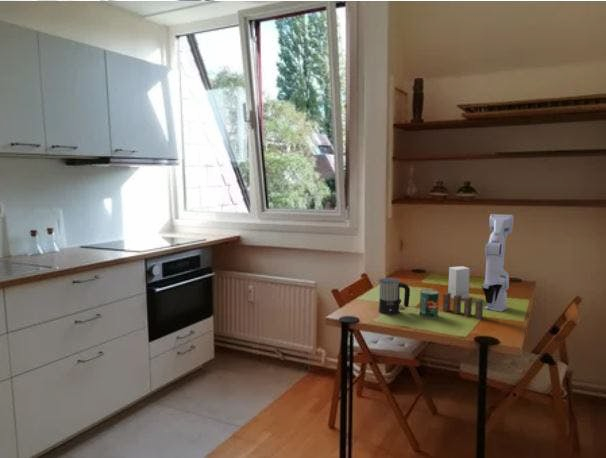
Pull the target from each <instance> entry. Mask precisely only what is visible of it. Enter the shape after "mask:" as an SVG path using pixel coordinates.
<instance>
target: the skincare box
mask: <svg viewBox="0 0 606 458" xmlns="http://www.w3.org/2000/svg"><path fill="white" fill-rule="evenodd" d="M470 272H471V268H469V267H467V266H462V265H461V266H451V267H450V266H448V287H447V289H448V290H447V292H448V293H451V299H453V300H454V296H455V295H461V300H463V299H464V300H465V298H466V297H470V295H469V294H470V293H469V291H470V289H469V288H470V274H471V273H470Z"/></svg>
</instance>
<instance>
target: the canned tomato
mask: <svg viewBox="0 0 606 458" xmlns="http://www.w3.org/2000/svg"><path fill="white" fill-rule="evenodd" d="M439 294H440V291H438V290H435V289H427V288H426V289H421V290H420V291H419V313H418V314H419V317H421V318H425V319H436V318H439V317H438V316H439V315H438V314H439Z"/></svg>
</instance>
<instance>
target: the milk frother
mask: <svg viewBox="0 0 606 458" xmlns="http://www.w3.org/2000/svg"><path fill="white" fill-rule="evenodd" d="M378 282H379V303H378V304H379V306H378V313H380V314H383V315H396V314H399V312H400V304H401V303H402V299H401V298H400V294H401V292H400V289H402V288H403V289H404V296H403V297H404V298H403V299H404V300H403V306H404V307H405V308H407V307H410V306H409V304H410V295H411V289H410V286H409V285H408V284H406V283H405V282H400V279H398V278H395V277H383V278H379V279H378Z"/></svg>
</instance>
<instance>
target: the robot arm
mask: <svg viewBox="0 0 606 458" xmlns="http://www.w3.org/2000/svg"><path fill="white" fill-rule="evenodd" d="M488 223H489V230H490V232H491V233H490V234H489V239H488V242H487V243H485V247H484V249H485V260H486V261H485V275H484V276H485V277H484V282H483V283H482V286H481V289H482V291H483V294H484V297H485V301H486V302H485V303H487V304H488V303H492V301H493V296H494V293H495V291H496V294H495V307H494V308H492V309H489V308H487V304H486V306H483V309H487V310H489V311H490V310H492V311H496V312H503V311H504V310H507V309H508V308H509V306H508V305H507V303H508V301H507V299H508V293H507V291H508V290H509V286H510V285H509V284H510V274H509V272H507V271H506V270H505V269H504V265H505V264H504V263H505V253H506V240H507V237H508V235H510V234H512V232H513V227H514V216H513V214H498V213H497V214H494V213H491V214H490V216H489V221H488Z"/></svg>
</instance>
